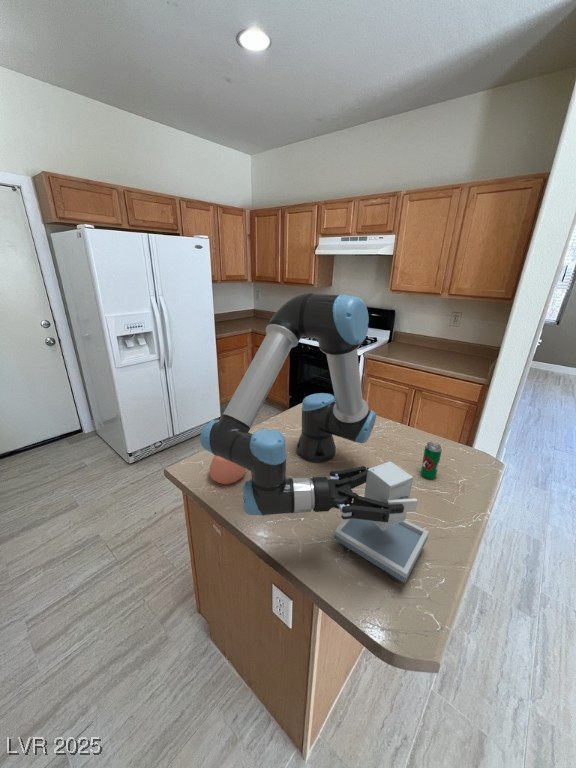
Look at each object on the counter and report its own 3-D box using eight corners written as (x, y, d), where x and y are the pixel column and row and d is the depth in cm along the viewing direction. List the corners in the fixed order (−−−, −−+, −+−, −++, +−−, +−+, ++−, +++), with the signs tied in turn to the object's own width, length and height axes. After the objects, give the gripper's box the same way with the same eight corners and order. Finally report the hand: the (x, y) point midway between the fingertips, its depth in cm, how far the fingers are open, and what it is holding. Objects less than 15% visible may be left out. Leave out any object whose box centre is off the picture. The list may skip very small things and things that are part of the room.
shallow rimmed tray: (333, 548, 79) (334, 530, 77) (361, 514, 90) (362, 498, 88) (403, 592, 68) (406, 574, 66) (425, 548, 79) (428, 531, 77)
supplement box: (382, 532, 70) (389, 486, 66) (361, 511, 77) (366, 467, 72) (406, 521, 74) (414, 476, 69) (384, 501, 80) (390, 459, 76)
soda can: (437, 481, 104) (444, 450, 100) (421, 479, 105) (427, 448, 101) (434, 472, 109) (440, 442, 105) (418, 470, 110) (424, 440, 106)
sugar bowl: (202, 476, 106) (200, 450, 102) (235, 459, 115) (234, 435, 112) (224, 493, 98) (222, 466, 94) (257, 473, 108) (256, 448, 104)
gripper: (304, 478, 83) (386, 474, 85) (319, 546, 62) (426, 539, 64) (305, 453, 80) (389, 450, 82) (321, 517, 60) (433, 510, 61)
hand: (405, 489), depth 73 cm, fingers closed on supplement box, 9 cm apart
